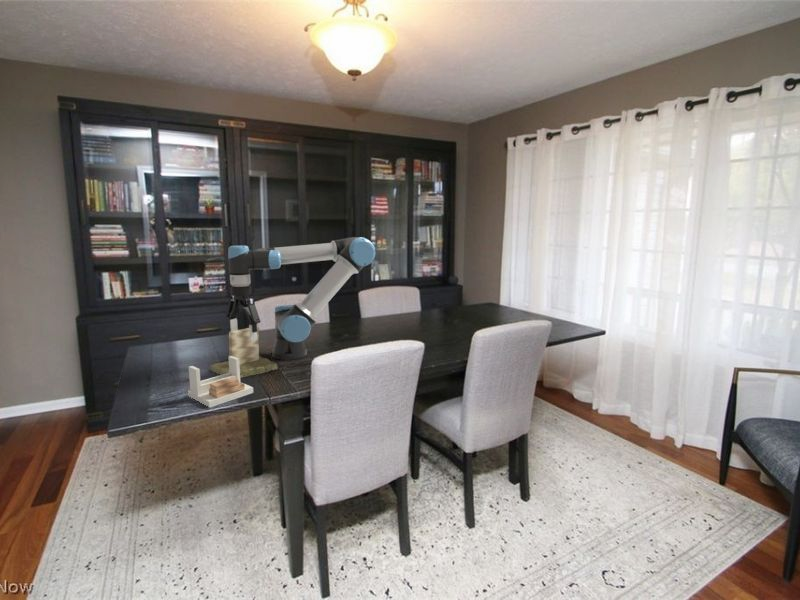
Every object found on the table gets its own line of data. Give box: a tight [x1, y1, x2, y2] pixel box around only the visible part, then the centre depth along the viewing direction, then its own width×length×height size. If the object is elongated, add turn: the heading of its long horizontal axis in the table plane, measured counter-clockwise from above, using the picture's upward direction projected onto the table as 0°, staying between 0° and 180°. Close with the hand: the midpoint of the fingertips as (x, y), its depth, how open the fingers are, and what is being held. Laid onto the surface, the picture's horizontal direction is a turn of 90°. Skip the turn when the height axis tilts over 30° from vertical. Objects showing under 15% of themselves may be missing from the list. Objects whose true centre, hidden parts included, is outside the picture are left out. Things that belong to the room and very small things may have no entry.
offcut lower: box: [209, 381, 245, 398], centre depth 142 cm, size 10×5×2 cm, turn 142°
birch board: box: [228, 326, 260, 365], centre depth 169 cm, size 12×2×14 cm, turn 143°
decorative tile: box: [210, 355, 278, 379], centre depth 171 cm, size 19×20×4 cm
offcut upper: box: [210, 377, 239, 392], centre depth 141 cm, size 8×4×2 cm, turn 142°
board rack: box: [187, 355, 254, 408], centre depth 144 cm, size 16×14×11 cm
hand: (244, 337), depth 169 cm, fingers open, 13 cm apart
